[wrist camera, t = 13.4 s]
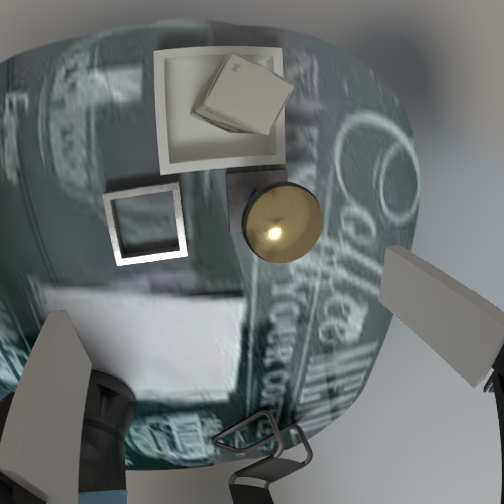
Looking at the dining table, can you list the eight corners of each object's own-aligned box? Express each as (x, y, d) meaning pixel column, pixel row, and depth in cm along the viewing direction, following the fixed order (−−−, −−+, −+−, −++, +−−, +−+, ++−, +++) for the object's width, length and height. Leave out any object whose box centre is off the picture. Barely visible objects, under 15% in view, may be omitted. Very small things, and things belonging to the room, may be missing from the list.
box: (188, 115, 27) (196, 103, 16) (207, 79, 26) (228, 46, 15) (232, 134, 29) (269, 138, 18) (250, 100, 28) (298, 84, 17)
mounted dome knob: (227, 233, 34) (247, 270, 26) (223, 171, 31) (243, 188, 22) (286, 225, 36) (322, 258, 27) (286, 167, 33) (326, 182, 24)
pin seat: (119, 260, 32) (117, 265, 31) (105, 191, 28) (102, 194, 27) (187, 250, 34) (187, 255, 33) (178, 180, 30) (178, 182, 29)
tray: (162, 171, 29) (160, 175, 27) (155, 58, 24) (153, 50, 21) (276, 160, 32) (285, 163, 29) (272, 54, 27) (282, 48, 24)
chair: (204, 440, 52) (225, 527, 32) (267, 404, 50) (306, 499, 31) (241, 452, 58) (265, 526, 38) (298, 420, 57) (336, 498, 37)
